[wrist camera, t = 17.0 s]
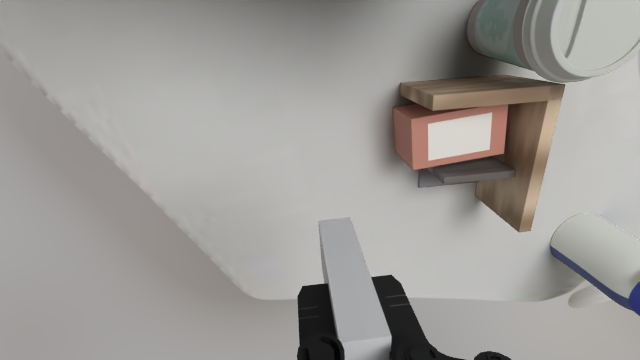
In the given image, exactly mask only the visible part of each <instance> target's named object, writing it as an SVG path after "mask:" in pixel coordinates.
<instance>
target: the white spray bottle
mask: <svg viewBox="0 0 640 360" xmlns="http://www.w3.org/2000/svg"><path fill="white" fill-rule="evenodd" d="M550 249H551V252H552V254H553V255H554V256H555V257H556V258H557V259H559V260H560V261H561V262H563V263H564V264H566V265H567V266H568V267H570V268H571V269H573V270H574V271H575V272H577V273H578V274H579V275H581V276H582V277H583V278H585V279H586V280H587V281H589V282H590V283H591V284H593V285H594V286H595V287H597V288H598V289H599V290H600V291H602V292H603V293H604V294H605V295H607V296H608V297H609V298H611V299H612V300H614V301H615V302H616V303H618V304H619V305H621V306H623V307H625V308H627V309H629V310H632V311H634V312H635V313H637V314H638V315H639V316H640V240H639V239H637V238H636V237H634V236H632V235H631V234H629V233H627V232H626V231H624V230H622V229H621V228H619V227H618V226H616V225H614V224H613V223H611V222H610V221H608V220H607V219H605V218H604V217H602V216H600V215H599V214H596V213H592V212H586V213H581V214H578V215H575V216H573V217H571V218H569V219H567V220H566V221H565V222H564V223H562V224H561V225H560V226H559V227H558V229H557V230H556V231H555V233H554V234H553V236H552V239H551V243H550Z"/></svg>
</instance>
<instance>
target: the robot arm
mask: <svg viewBox="0 0 640 360" xmlns="http://www.w3.org/2000/svg"><path fill="white" fill-rule="evenodd" d="M318 222H319V234H320V247H321V260H322V270H323V276H324V283H325V284H317V285H309V286H302V288H301V291H300V293H299V295H298V317H299V338H300V339H299V340H300V346H299V348H298V354H297V359H298V360H464V359H458V358H453V357H450V356H446V355H444V354H442V353H440V352H438V351H437V349H436V348H435V347H433V346H432V345H431V344H430V343H429V342H428V340H427V339H426V337H425V335H424V333H423V331H422V329H421V326H420V324H419V322H418V320H417V318H416V316H415V313H414V311H413V309H412V307H411V305H410V302H409V301H408V298H407V296H406V294H405V292H404V289H403V287H402V285H401V283H400V282H399V281H398V280H396V279H395V278H394V277H393V276H392V275H386V276H377V277H371V276H370V273H369V270H368V267H367V265H366V262H365V259H364V256H363V253H362V250H361V247H360V245H359V242H358V239H357V236H356V233H355V230H354V227H353V225H352V222H351V219H350V218H342V219H332V220H323V221H318ZM474 360H511V359H510V358H508V357H507V356H504V355H502V354H500V353H496V352H491V351H487V352H481V353H479V354H478V355H477V356H476V357H475V358H474Z"/></svg>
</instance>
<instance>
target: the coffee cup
mask: <svg viewBox="0 0 640 360" xmlns="http://www.w3.org/2000/svg"><path fill="white" fill-rule="evenodd" d="M467 37H468V41H469V43H470V45H471V47H472V48H473V49H474V50H475V51H476V52H477V53H479V54H481V55H484V56H487V57H490V58H493V59H497V60H500V61H503V62H506V63H510V64H513V65H516V66H519V67H522V68H526V69H529V70H532V71H535V72H536V73H537V74H538V75H540V76H541V77H543V78H545V79H547V80H550V81H553V82H562V83H564V82H577V81H582V80H586V79H589V78H592V77H596V76H600V75H603V74H606V73H609V72H611V71H613V70H615V69H616V68H618V67H620V66H621V65H623V64H624V63H625V62H627V61H628V60H629V59H630V58H631V57H633V56H634V55H635V54H636V53H637V52H638V51H639V49H640V0H479V1H478V2H477V3H476V5H475V6H474V8H473V9H472V11H471V13H470V16H469V19H468V23H467Z"/></svg>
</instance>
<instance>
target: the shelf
mask: <svg viewBox="0 0 640 360" xmlns="http://www.w3.org/2000/svg"><path fill="white" fill-rule="evenodd" d="M564 89H565V84H559V83H553V82H547V81H541V80H534V79H528V78H522V77H516V76H510V75H493V76H481V77H468V78H456V79H443V80H431V81H418V82H406V83H400V95H401V96H403V97H405V98H407V99H409V100H411V101H413V102H416V103H418V104H420V105H422V106H424V107H426V108H428V109H430V110H432V111H435V110H447V109H458V108H470V107H481V106H493V105H505V104H508V114H507V125H506V136H505V147H504V154H499V155H493V156H488V157H482V158H477V159H471V160H466V161H460V162H455V163H450V164H444V165H439V166H433V167H428V168H422V169H419V183H418V187H419V188H422V187H432V186H442V185H452V184H461V183H471V182H477V187H476V193H475V196H476V197H477V198H478V199H479V200H480V201H482V202H483V203H484V204H485V205H486V206H488V207H489V208H490V209H491V210H493V211H494V212H495V213H496V214H497V215H499V216H500V217H501V218H502V219H503V220H505V221H506V222H507V223H508V224H509V225H511V226H512V227H513V228H514V229H515V230H517V231H518V232H526V231H531V227H532V222H533V218H534V214H535V210H536V206H537V201H538V197H539V193H540V189H541V185H542V181H543V176H544V172H545V168H546V164H547V160H548V155H549V151H550V147H551V143H552V139H553V135H554V130H555V126H556V122H557V118H558V114H559V109H560V105H561V101H562V97H563V93H564Z"/></svg>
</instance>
